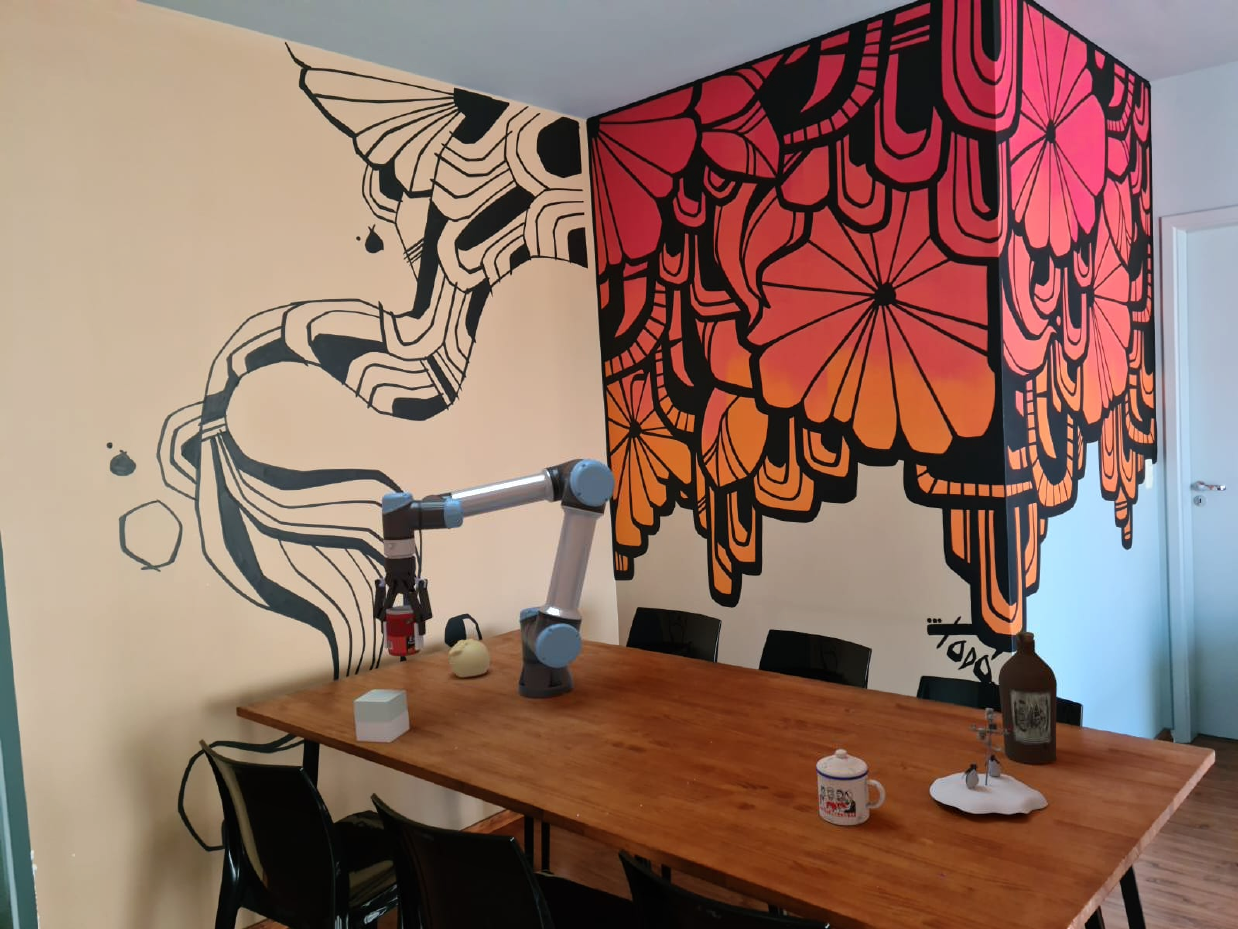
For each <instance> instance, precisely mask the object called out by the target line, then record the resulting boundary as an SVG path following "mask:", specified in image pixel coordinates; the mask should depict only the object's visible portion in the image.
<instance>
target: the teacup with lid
mask: <svg viewBox="0 0 1238 929" xmlns="http://www.w3.org/2000/svg"><path fill="white" fill-rule="evenodd" d="M869 770H870V769H869V767H868V765H867V763H866V762H865V761H864V760H862V759H860V758H858V757H855V756H852V755H849V754H848V752H847V750H845V749H837V750H836V751H835V753H834V754H832V755H829V756H826V757H823V758H821V759H820V760H818V761H817V763H816V765H815V771H816V773H817V788H818V790H817V791H818V805H819V806H818V809H819V811H818V812H819V815H820V817H821V818H822V819H823V820H824V821H826V822H829V823H830V824H833V825H838V826H856V825H860V824H863V823H865V822H866V821H867V820H868V819H869V817H870V809H871V810H872V809H878V808H879V807H880V806H881V805H883V803H884V802H885V798H886V791H885V788H884V786H883V785H882V784H881V783H880V782H879V781H878V780H876V779H870V778H868V774H869ZM869 786H873V787H874V788H876V789H877V790H878V792H879V799H878V800H877V802H870V800H869V798H870V797H869Z"/></svg>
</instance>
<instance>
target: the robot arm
mask: <svg viewBox="0 0 1238 929" xmlns="http://www.w3.org/2000/svg"><path fill="white" fill-rule="evenodd" d="M615 489H616V480H615V475H614V474H613V472H612V470H611V468H609V467H608V465H606V464H605V463H603V462H601V461H599V460H596V459H589V458H586V459H582V458H576V459H571V460H569V461H565V462H562V463H559V464H556V465H553V466H548V467H543V468H542V470H541V471H540V472H538V473H535V474H534V473H533V474H530V475H529V474H527V475H524V476H520V477H514V478H511V479H510V478H509V479H505V480H504V479H503V480H501V481H495V482H490V483H487V484H486V483H485V484H482V485H476V486H473V487H468V488H462V489H458V490H453V491H450V492H444V493H439V494H428V495H426V496H424V497H423V498H422V499H414V496H413V493H411V492H392V493H386V494H384V495H383V496H382V499H381V522H382V537H383V556H384V557H385V558H384V559H383V561H384V562H383V565H384V566H383V567H384V572H385V575H384V576H385V577H380V578H377V579H375V580H374V587H375V594H374V603H373V611H372V613H373V614H372V618H373V619H375V620H376V619H377V620H378V621H380V634H381V635H383V643H384V644H383V646H384V649H388V640H387V621H386V610H387V609H389V608H392V607H394V604H395V601H396V598H397V596H398V595H399V594H400V595H404V598H406V599H407V602H408V603H409V605H410V606H411V609H412V610H413V613H414V616H415V618H416V620H417V622H416V623H414V632H415V650H419V649H420V650H421V649H423V648H425V644H424V643H425V642H424V636H425V635H426V633H427V630H426V629H427V627H426V626H427V625H426V622H427V621H428V620H431V619H433V617H434V616H433V611H432V606H431V602H430V595H429V591H428V584H429V580H428V579H427V578H424V579H421V578H418V576H417V575H416V574H417V573H416V572H417V560H416V559H417V558H416V556H415V554H416V539H415V536H416V535H415V532H416V531H427V530H445V529H448V530H450V529H455V528H456V529H457V528H460V527H461V528H462V526H463V524H464V518H470V517H473V516H479V515H483V514H488V513H491V512H497V511H501V510H502V511H503V510H507V509H510V508H511V509H512V508H515V507H519V506H523V505H524V506H525V505H530V504H534V503H537V502H538V503H539V502H543V501H547V502H549V503H554V502H555V503H556V502H560V508H561V510H562V511H563V513H564V516H563V520H562V525H561V530H560V534H559V535H560V536H559V539H558V543H557V544H558V545H557V548H556V554H555V557H554V558H555V559H554V563H553V567H552V571H551V577H550V582H549V587H548V592H547V596H546V601H545V603H544V604H543V605H542V606H541V605H539V606H534V607H533V606H532V607H527V608H524V609H522V610H521V611H520V613H519V626H520V638H521V639H520V641H521V654H522V667H521V671H520V675H519V679H518V682H517V686H518V687H517V688H518V689H517V690H518V693H519V695H520V696H523V697H525V698H532V699H534V698H536V699H537V698H538V699H540V698H541V699H543V698H545V699H546V698H552V697H557V696H562V695H565V694H566V693H569V692H571V691H572V690H573V689H574V678H573V676H572V673H571V671H570V669H569V665H571V664H572V663H573V662H575V661H576V660H577V658H578V657H579V656H580V653H581V650H582V647H583V643H582V642H583V641H582V636H581V634H580V630H581V626H582V622H583V621H582V620H583V616H582V615H581V612H580V611H579V607H580V602H581V597H582V593H583V588H584V582H585V578H586V573H587V568H588V563H589V558H590V554H591V549H592V544H593V540H594V535H595V531H596V530H595V529H596V524H597V521H598V520H599V519H600V518H602V517H604V515H605V511H606V506H607V503H608V502H609V500H611V498H612V497H613V495H614V492H615ZM415 585H416V586H415ZM386 586H387V587H388V588H387V591H386ZM415 587H416V588H417V590H416V588H415ZM385 594H386V596H385ZM417 594H418V596H417Z"/></svg>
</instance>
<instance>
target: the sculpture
mask: <svg viewBox="0 0 1238 929" xmlns="http://www.w3.org/2000/svg"><path fill="white" fill-rule="evenodd" d="M447 657H448V662H449V663H448V664H449V665H450V666H451V670H452V672H453V674H455V675H456V676H457V677H459V678H468V677H469V678H470V677H475V676H480V675H483V674H485V673H486V672H487V671H488V670H489V666H490V662H491V657H490V652H489V650H488V647H487V646H486V645H485V644H484V643H483V642H480V641H478V640H475V639H473V638H468V639H461V640H458V641H457V643H455V644H454V645H453V646H452V648H451V649H450V650H449V651H448V656H447Z"/></svg>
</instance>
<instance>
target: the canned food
mask: <svg viewBox="0 0 1238 929" xmlns="http://www.w3.org/2000/svg"><path fill="white" fill-rule="evenodd" d="M386 621H387V640H388V648H387V652H388V653H389V655H390V656H393V657H409V656H413V655H416V654H419V653H420V651H421V649H419V650H415V632H414V623H416V622H417V620H416V618H415V616H414V613H413V610H412V609H411V606H410V604H409V605H397V606H393V607H392V608H389V609H387V610H386Z"/></svg>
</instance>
